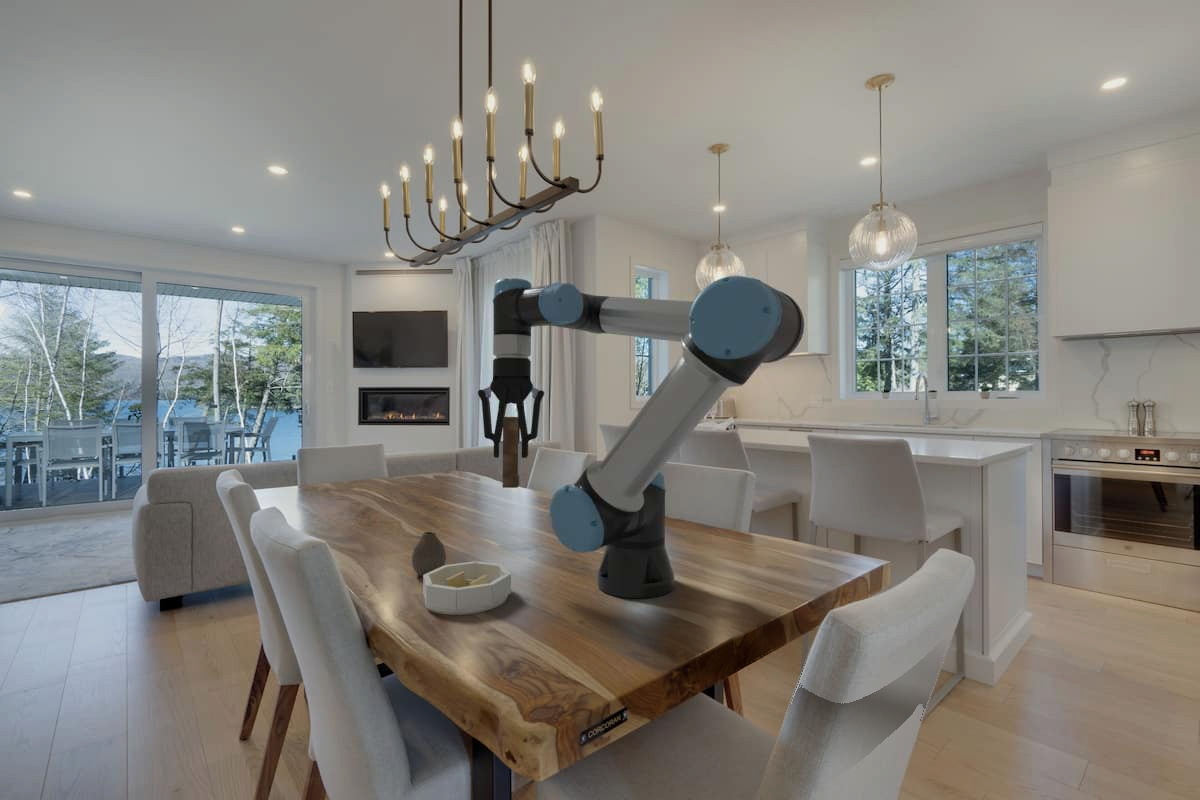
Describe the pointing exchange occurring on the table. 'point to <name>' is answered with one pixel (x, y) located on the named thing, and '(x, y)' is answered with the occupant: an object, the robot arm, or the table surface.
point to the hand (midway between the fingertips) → (510, 473)
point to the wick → (510, 452)
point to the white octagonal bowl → (466, 588)
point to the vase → (428, 554)
